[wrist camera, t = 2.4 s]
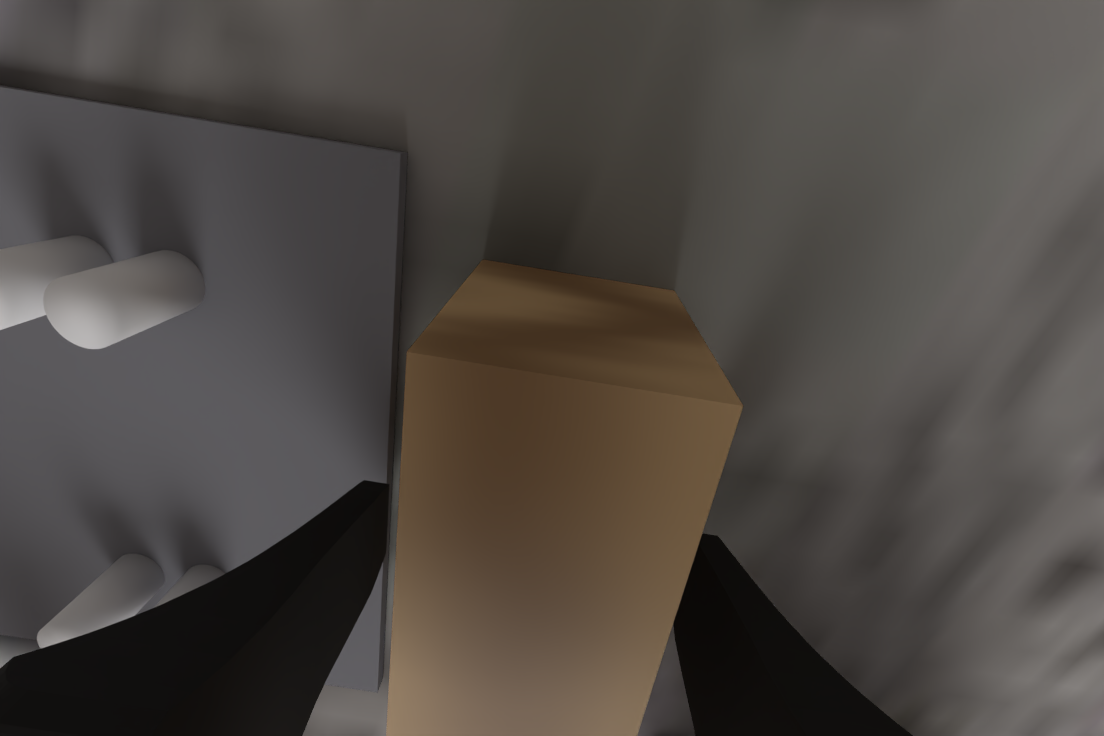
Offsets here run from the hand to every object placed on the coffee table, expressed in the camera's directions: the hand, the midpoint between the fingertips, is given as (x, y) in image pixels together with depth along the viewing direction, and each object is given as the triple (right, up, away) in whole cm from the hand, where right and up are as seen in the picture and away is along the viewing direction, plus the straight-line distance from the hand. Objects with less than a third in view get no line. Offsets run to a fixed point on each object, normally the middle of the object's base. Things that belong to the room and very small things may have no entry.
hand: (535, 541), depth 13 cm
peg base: (-10, +2, +2) cm, 10 cm away
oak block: (0, +1, +2) cm, 2 cm away
